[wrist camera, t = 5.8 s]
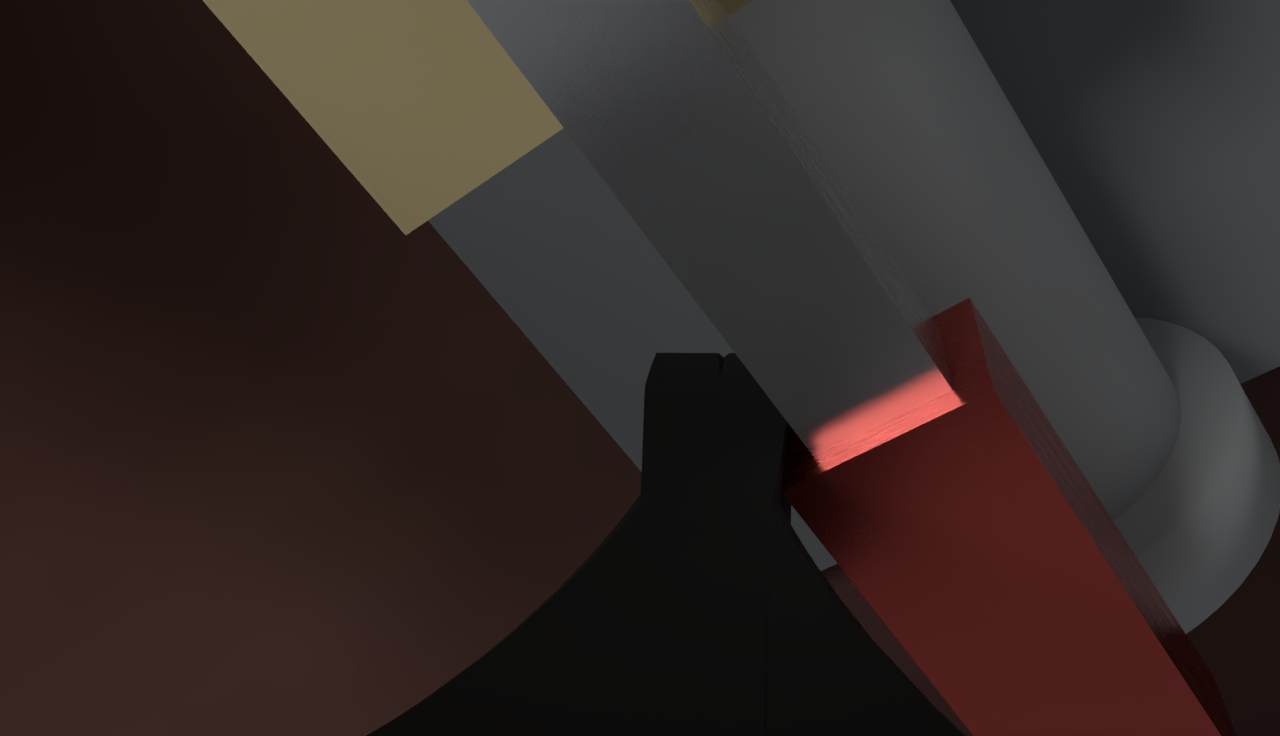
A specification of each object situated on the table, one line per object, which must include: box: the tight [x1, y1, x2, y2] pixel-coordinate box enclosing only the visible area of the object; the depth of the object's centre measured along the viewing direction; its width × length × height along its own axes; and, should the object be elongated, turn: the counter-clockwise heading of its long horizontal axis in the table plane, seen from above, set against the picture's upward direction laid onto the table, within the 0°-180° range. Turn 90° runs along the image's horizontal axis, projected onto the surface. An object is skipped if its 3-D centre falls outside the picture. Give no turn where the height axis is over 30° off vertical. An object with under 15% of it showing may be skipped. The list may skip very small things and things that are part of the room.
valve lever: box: [467, 0, 1237, 736], centre depth 9 cm, size 12×2×1 cm, turn 36°
